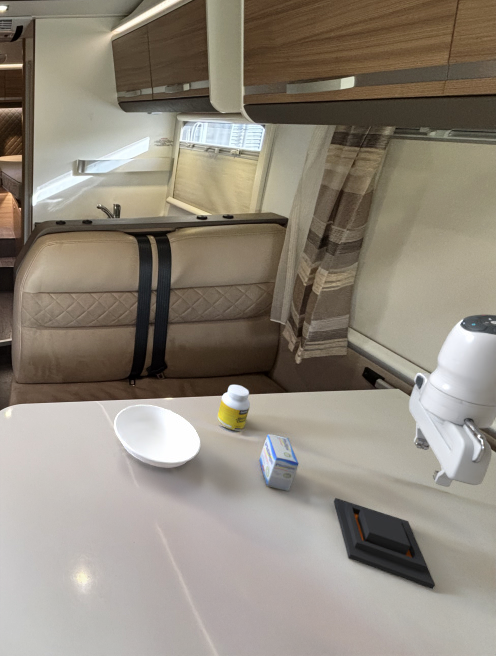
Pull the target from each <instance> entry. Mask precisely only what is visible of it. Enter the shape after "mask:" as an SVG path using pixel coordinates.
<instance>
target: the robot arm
mask: <svg viewBox="0 0 496 656" xmlns="http://www.w3.org/2000/svg"><path fill="white" fill-rule="evenodd" d="M436 359H437V360H436V361H437V362H436V363H437V365H436V368H435V370H434V371H432V372H431V373H425V372H416V374H415V375H414V379H413V381H414V383H415V384H414V386H413V388H412V391H411V394H410V396H409V400H408V410H409V413H410V414H411V416H412V417H413V419H414V421H415V423H416V424H415V436H414V439H413V443H414V445H415V446H416V448H417V449H419V450H424V451H427V450H429V449H431V450H432V452H433V454H434V456H435V458H436V459H437V461H438V462H439V464H440V469H441V470H440V471H439V470H434V472H433V474H432V478H433V481H434V482H435V484H436V485H438V486H442V487H445V488H448V487H450V486H451V484H452V482H453V481H455V482H459V483H462V484H467V485H471V486H478V485H481V484H482V483H483V482H484V478H485V477H486V475H487V472H488V469H489V466H490V463H491V461H492V454H493V453H492V452H493V451H492V448H491V445H490V443H489V442H488V441H487V438H486V436H485V434H484V433H483V432H481V430H480V429H486V428H490V427H492V426H493V424H494V422H495V421H496V314H473V315H469V316H465V317H464V318H461V319H460V320H459V321H458V322H457V323H456V324H455V325H454V326H453V327H452V329H451V330H450V331H449V332H448V334H447V336H446V338H445V340H444V342H443V343H442V346H441V347H440V350H439V352H438V355H437V358H436Z"/></svg>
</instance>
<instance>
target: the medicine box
mask: <svg viewBox="0 0 496 656" xmlns="http://www.w3.org/2000/svg"><path fill="white" fill-rule="evenodd" d="M258 462H259V465H260V468H261V471H262V474H263V478H264V480H265V484H266V486H267V487H270V488H274V489H277V490H282V491H285V492H289V491H290V489H291V486H292V484H293V481H294V478H295V475H296V472H297V469H298V468H299V461H298V459H297V457H296V453H295V451H294V449H293V446H292V444H291V441H290V439H289V437H284V436H281V435H275V434H270V433H268V434H267V435H266V438H265V441H264V444H263V447H262V449H261V453H260V456H259V459H258Z"/></svg>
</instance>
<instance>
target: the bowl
mask: <svg viewBox="0 0 496 656" xmlns="http://www.w3.org/2000/svg"><path fill="white" fill-rule="evenodd" d="M113 425H114V426H113V429H114V432H115V434H116V436H117V438H118V439H119V441H120V443H121V445H122V446H123V448H124V449H125V450H126V451H127V452H128V453H129V454H130V455H131V456H133V457H134V458H135V459H137V460H138V461H140V462H143V463H145V464H147V465H149V466H154V467H158V468H167V469H168V468H176V467H177V468H178V467H180V466H183V465H185V463H187V462H188V461H191V460H192V459H194V458H195V457H196V456H198V454H199V452H200V449H201V439H200V436H199V434H198V431H197V430H196V429H195V427H194V426H193V425H192V424H191V423H190V421H188V420H187V419H185V418H184V417H183V416H181V414H178V413H176V412H175V411H172V410H170V409H167V408H165V407H161V406H157V405H151V404H135V405H130V406H127V407H125V408H123V409H121V410H120V411H119V412H118V413H117V414H116V417H115V418H114V422H113Z"/></svg>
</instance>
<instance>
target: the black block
mask: <svg viewBox="0 0 496 656" xmlns="http://www.w3.org/2000/svg"><path fill="white" fill-rule="evenodd" d="M357 519H358V523H359V526H360V529H361V533H362V536H363V539H364V541H366V542H369V543H372V544H374V545H377V546H380V547H383V548H386V549H389V550H392V551H394V552H397V553H400V554H403V555H406V554H407V552H408V550H409V548H410V544H409V541H408V539H407V536H406V534H405V531H404V529H403V526H402V524H401V521H400V520H398V519H395V518H392V517H389V516H386V515H383V514H379V513H376V512H373V511H370V510H367V509H364V508H361V510H360V513H359V515H358V517H357Z"/></svg>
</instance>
